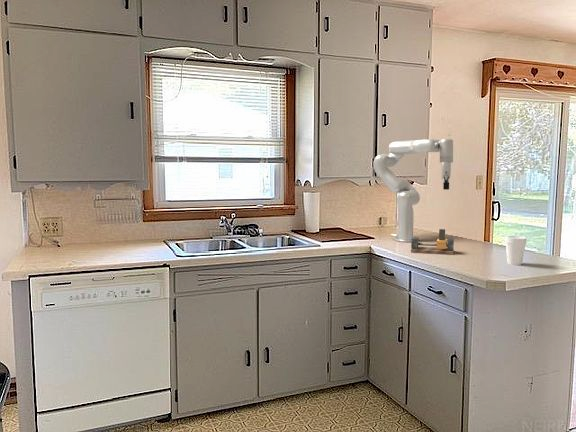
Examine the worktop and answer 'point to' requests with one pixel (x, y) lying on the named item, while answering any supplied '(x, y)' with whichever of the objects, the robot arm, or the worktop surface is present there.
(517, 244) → the foam cup
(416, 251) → the rail board
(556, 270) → the worktop surface
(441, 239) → the carriage
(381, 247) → the worktop surface
